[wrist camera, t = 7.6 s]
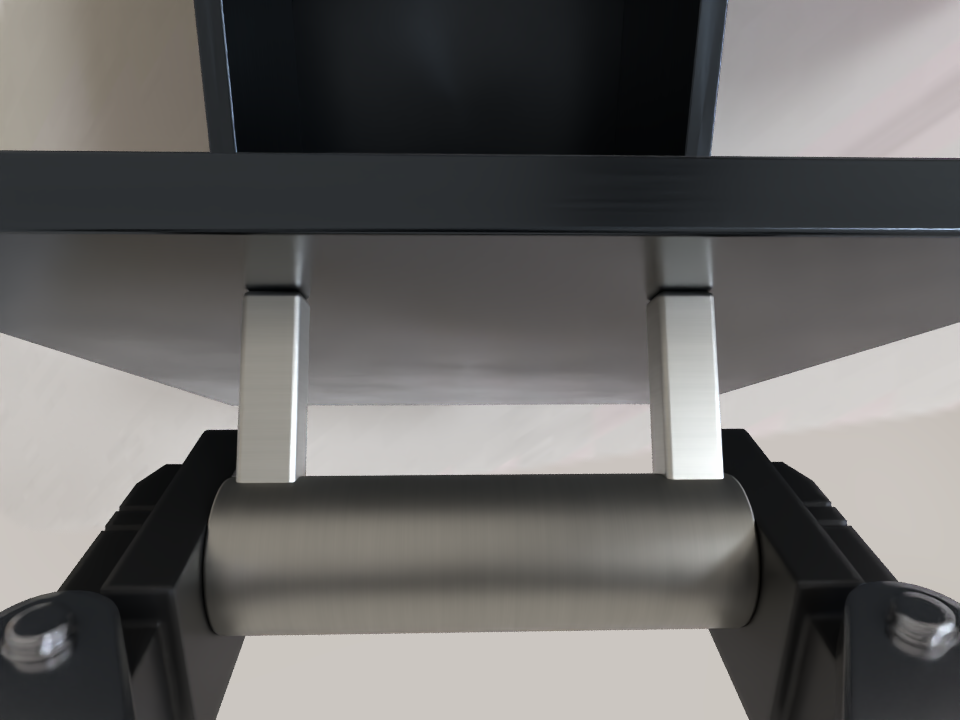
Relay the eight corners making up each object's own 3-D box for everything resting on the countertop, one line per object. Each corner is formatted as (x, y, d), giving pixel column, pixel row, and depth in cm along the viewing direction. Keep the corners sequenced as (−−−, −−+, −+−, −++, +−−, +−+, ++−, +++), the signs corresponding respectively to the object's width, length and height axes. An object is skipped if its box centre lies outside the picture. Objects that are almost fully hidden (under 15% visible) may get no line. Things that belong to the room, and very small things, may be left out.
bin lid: (-320, 144, 7) (-408, 707, 6) (1238, 157, 7) (1322, 675, 7) (231, 380, 24) (224, 536, 23) (688, 379, 25) (696, 531, 24)
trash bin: (266, -128, 29) (166, -240, 19) (649, -120, 29) (754, -224, 19) (297, 297, 35) (234, 387, 24) (617, 297, 35) (685, 386, 25)
